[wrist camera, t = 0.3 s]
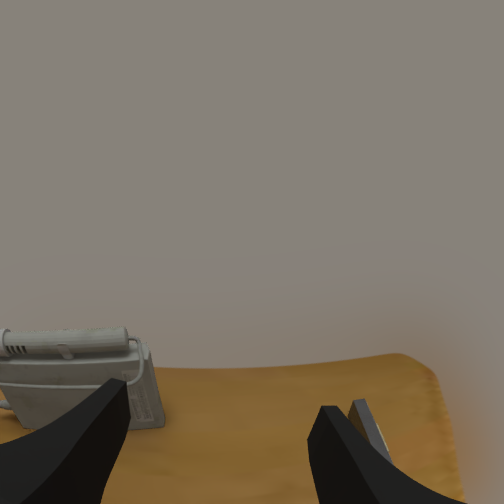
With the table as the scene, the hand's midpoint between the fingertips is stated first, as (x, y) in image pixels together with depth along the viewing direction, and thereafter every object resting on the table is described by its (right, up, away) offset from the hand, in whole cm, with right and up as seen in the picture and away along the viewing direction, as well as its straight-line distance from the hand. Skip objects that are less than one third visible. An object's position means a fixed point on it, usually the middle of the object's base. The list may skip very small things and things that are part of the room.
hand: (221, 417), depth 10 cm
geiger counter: (-21, -16, +17) cm, 31 cm away
